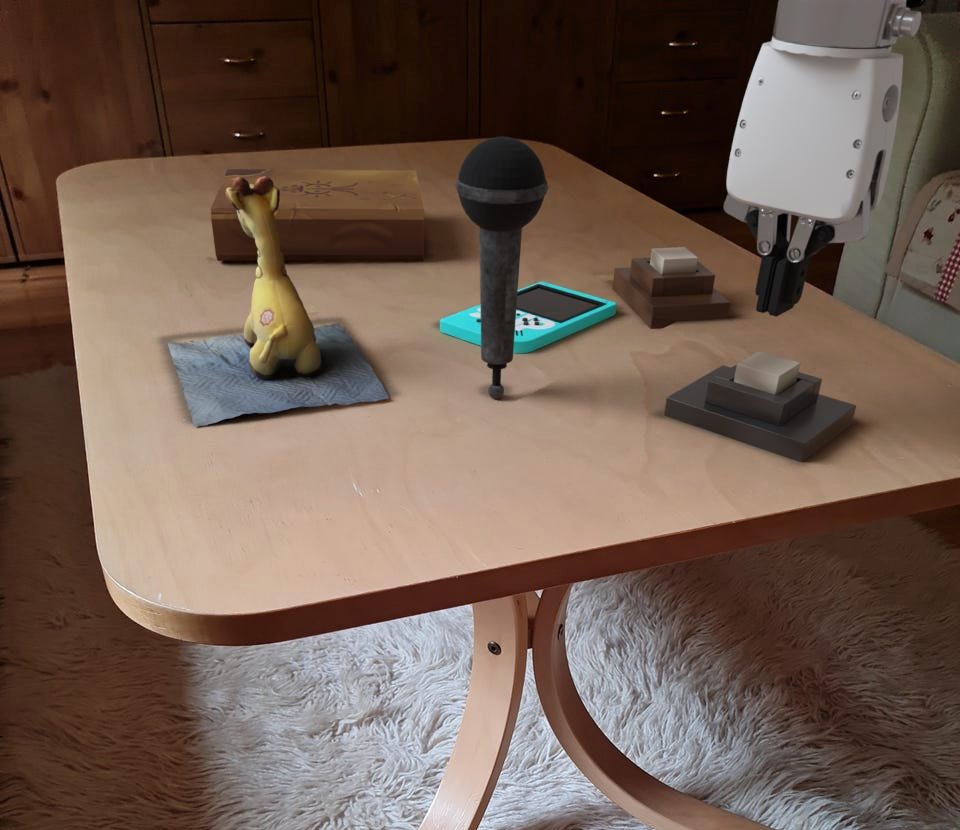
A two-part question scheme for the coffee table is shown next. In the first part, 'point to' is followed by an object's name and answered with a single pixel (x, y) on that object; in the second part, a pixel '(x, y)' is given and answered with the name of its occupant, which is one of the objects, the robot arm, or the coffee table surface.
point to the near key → (767, 372)
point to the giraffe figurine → (271, 339)
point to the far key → (673, 260)
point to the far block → (669, 294)
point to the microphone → (500, 235)
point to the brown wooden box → (330, 216)
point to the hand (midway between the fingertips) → (774, 309)
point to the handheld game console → (537, 316)
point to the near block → (762, 413)
